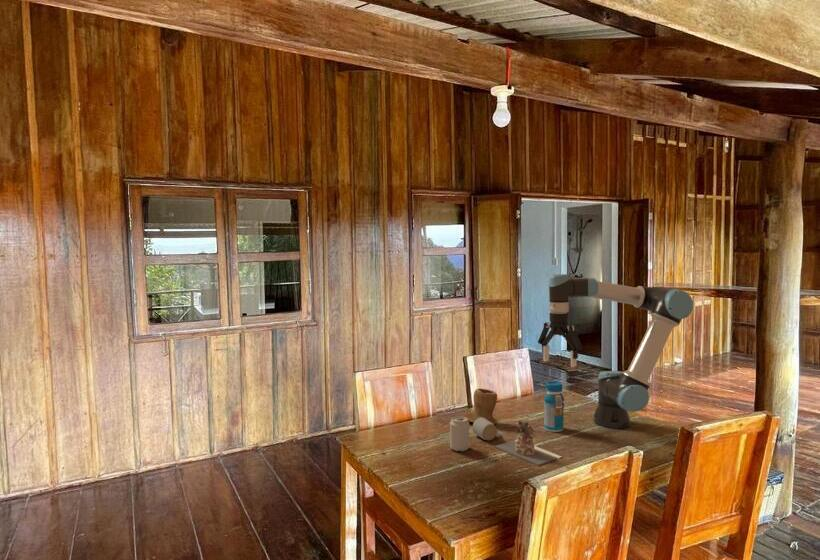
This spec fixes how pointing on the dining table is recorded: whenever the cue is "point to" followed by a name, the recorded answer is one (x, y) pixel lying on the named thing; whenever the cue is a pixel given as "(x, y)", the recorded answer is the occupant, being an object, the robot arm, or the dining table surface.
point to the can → (459, 434)
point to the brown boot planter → (482, 406)
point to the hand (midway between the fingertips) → (559, 363)
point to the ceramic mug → (485, 429)
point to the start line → (546, 452)
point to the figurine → (524, 439)
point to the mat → (536, 458)
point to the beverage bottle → (553, 407)
